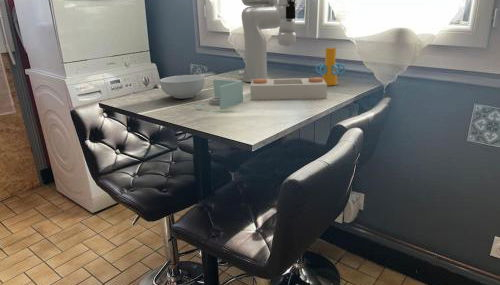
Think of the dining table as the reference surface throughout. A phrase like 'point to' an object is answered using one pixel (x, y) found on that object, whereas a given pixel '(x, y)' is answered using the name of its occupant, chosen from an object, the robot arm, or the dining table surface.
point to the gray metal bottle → (286, 26)
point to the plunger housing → (288, 89)
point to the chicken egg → (259, 81)
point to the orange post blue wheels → (330, 68)
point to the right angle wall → (226, 93)
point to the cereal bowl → (182, 85)
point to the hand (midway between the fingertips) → (287, 18)
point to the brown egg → (315, 79)
